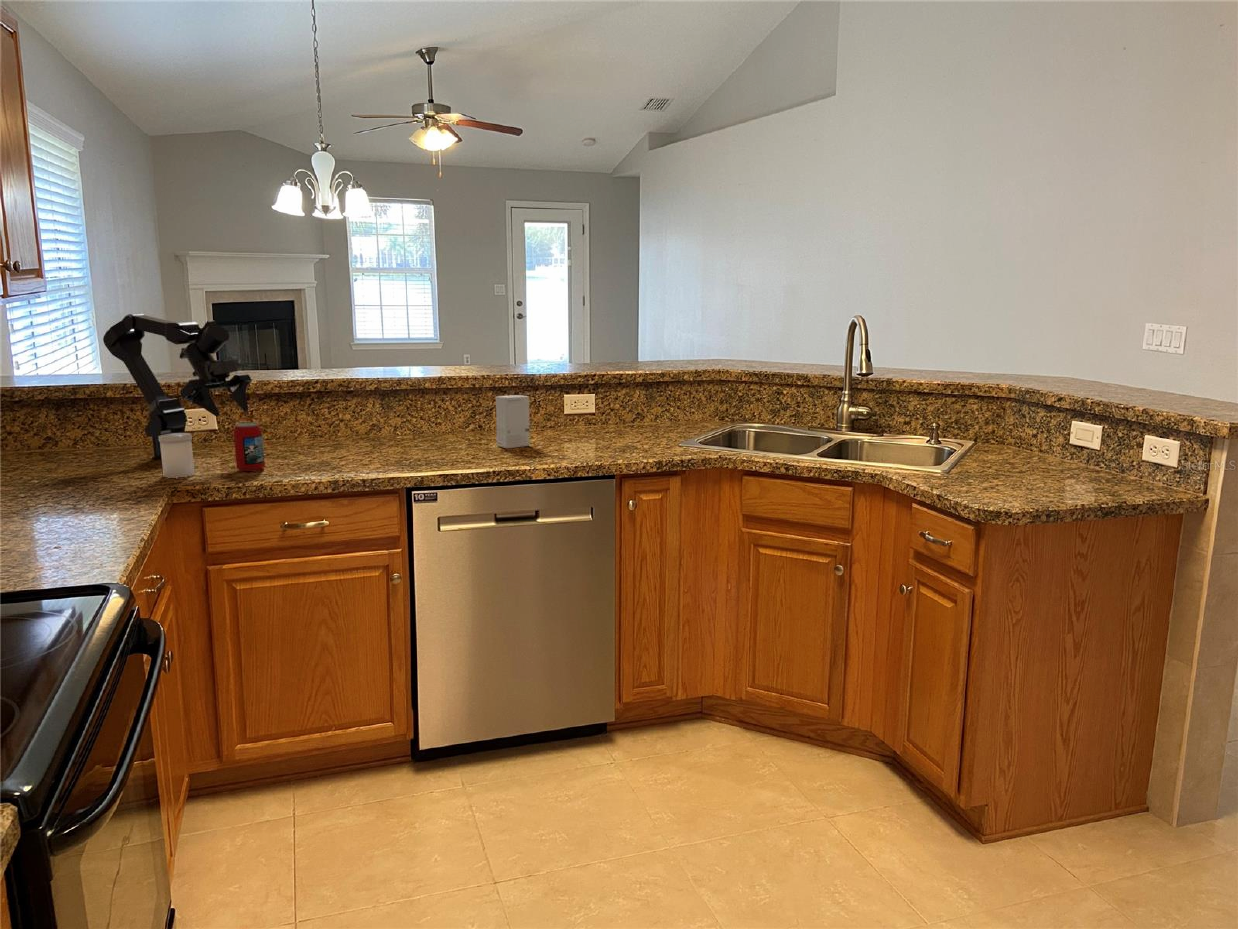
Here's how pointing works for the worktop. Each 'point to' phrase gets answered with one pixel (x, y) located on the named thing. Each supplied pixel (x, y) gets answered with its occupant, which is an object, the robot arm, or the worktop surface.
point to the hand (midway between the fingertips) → (232, 413)
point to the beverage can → (248, 446)
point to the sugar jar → (176, 455)
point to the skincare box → (512, 421)
